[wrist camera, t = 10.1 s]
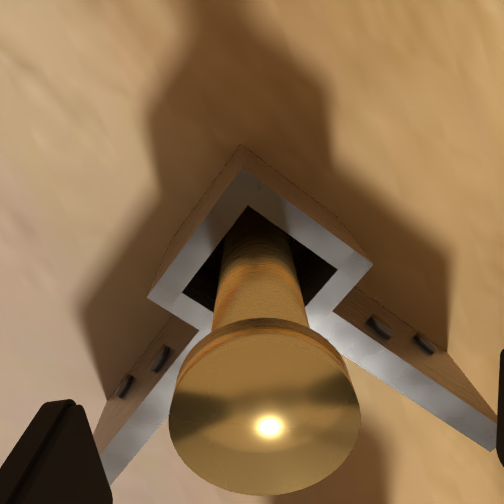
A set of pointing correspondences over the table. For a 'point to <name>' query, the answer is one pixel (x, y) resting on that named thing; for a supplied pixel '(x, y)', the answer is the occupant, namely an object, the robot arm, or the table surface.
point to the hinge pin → (262, 378)
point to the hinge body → (316, 305)
